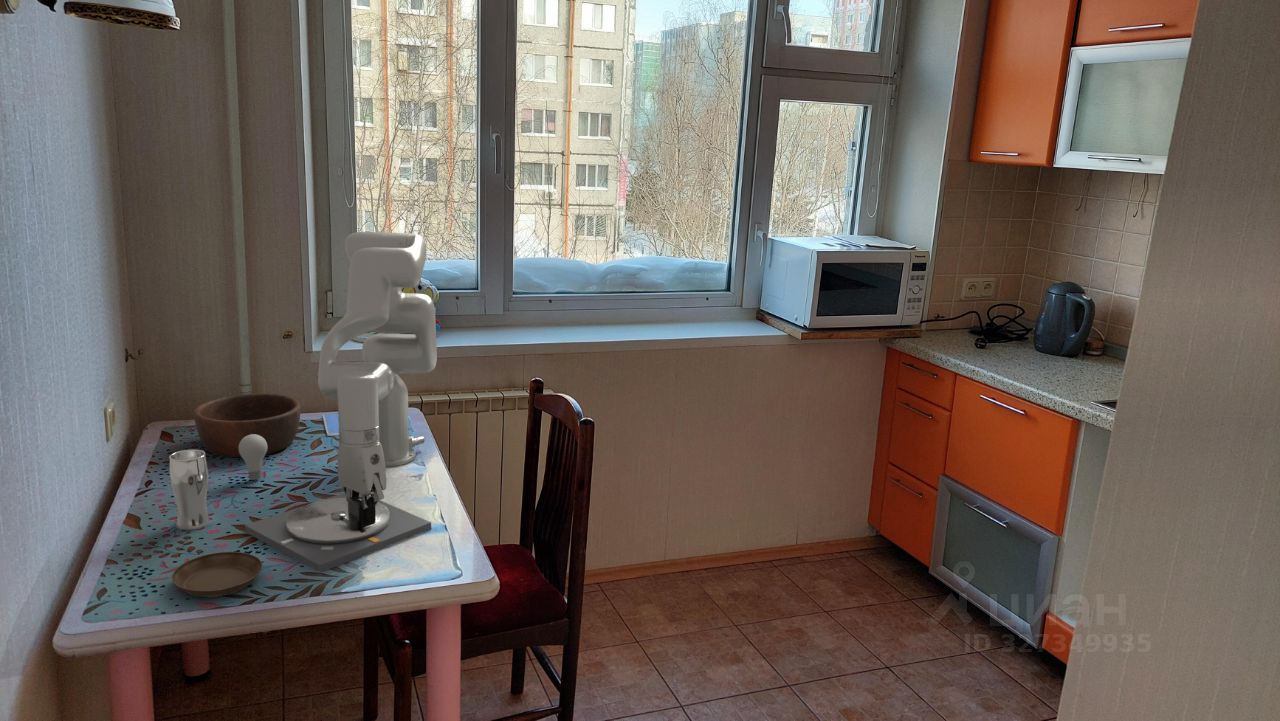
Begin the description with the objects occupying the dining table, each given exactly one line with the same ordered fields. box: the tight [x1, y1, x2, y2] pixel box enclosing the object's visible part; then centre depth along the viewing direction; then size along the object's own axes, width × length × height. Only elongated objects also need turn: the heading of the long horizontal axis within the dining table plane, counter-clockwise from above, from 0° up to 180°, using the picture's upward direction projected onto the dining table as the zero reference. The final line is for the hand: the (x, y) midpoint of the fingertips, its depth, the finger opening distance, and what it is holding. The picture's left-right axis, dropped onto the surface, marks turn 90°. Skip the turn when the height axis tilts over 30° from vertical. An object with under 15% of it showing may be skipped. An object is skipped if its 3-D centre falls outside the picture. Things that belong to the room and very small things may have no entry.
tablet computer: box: [322, 412, 339, 437], centre depth 252 cm, size 19×13×1 cm, turn 22°
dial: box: [286, 497, 390, 544], centre depth 185 cm, size 20×20×7 cm
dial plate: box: [244, 492, 432, 573], centre depth 187 cm, size 26×26×2 cm
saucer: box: [171, 551, 264, 598], centre depth 164 cm, size 15×15×3 cm
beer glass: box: [168, 449, 210, 531], centre depth 185 cm, size 7×7×15 cm
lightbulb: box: [238, 434, 268, 482], centre depth 210 cm, size 6×6×11 cm
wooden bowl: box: [193, 393, 302, 458], centre depth 232 cm, size 25×25×10 cm
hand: (362, 521), depth 182 cm, fingers closed on dial, 3 cm apart
